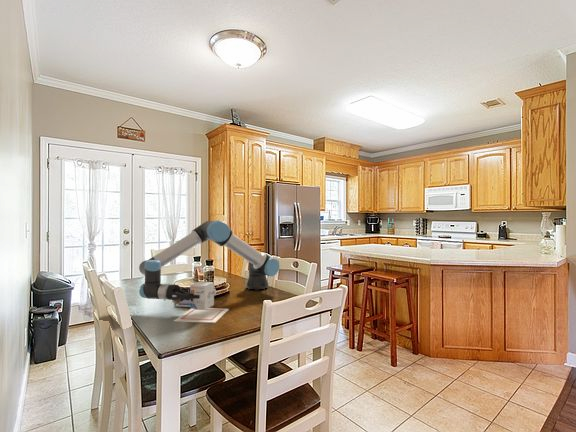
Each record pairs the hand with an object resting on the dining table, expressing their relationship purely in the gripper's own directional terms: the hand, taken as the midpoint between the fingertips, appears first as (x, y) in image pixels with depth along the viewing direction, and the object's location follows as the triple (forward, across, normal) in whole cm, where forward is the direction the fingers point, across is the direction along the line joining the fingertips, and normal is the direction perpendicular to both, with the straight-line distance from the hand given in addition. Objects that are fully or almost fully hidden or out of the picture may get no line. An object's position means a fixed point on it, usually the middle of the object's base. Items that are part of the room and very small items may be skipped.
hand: (211, 294), depth 149 cm
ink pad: (-19, -18, -10) cm, 28 cm away
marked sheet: (-4, 0, -10) cm, 11 cm away
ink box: (-5, 0, -7) cm, 8 cm away
